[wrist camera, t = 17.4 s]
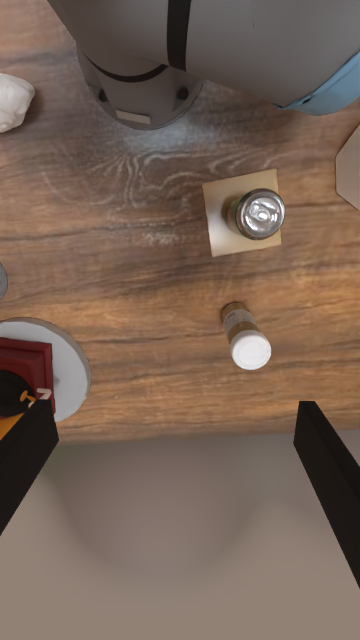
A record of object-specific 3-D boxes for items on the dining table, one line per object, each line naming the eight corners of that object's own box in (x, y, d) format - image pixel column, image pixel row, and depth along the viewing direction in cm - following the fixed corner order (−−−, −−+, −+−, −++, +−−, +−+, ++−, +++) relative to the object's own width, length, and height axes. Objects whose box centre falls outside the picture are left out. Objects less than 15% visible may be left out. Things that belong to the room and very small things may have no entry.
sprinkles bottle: (231, 333, 45) (245, 378, 33) (215, 312, 44) (224, 349, 32) (255, 318, 44) (279, 358, 32) (239, 295, 43) (258, 328, 31)
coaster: (201, 183, 38) (201, 183, 38) (276, 168, 37) (276, 168, 37) (211, 256, 41) (212, 257, 41) (280, 244, 40) (281, 245, 40)
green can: (248, 241, 40) (269, 250, 29) (217, 224, 39) (227, 226, 28) (268, 207, 38) (299, 202, 27) (236, 189, 38) (254, 176, 26)
